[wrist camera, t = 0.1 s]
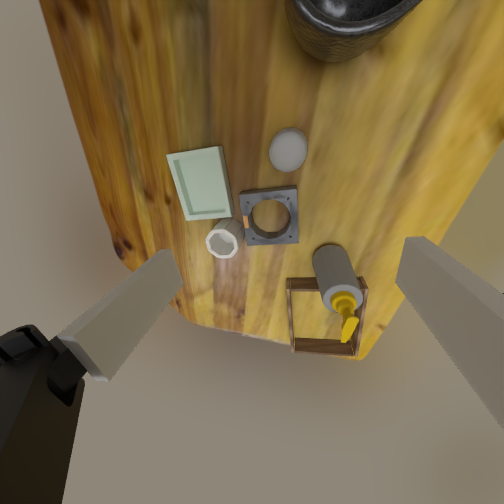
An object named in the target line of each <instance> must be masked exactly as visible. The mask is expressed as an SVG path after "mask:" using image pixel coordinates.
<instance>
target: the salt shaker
mask: <svg viewBox="0 0 504 504" xmlns="http://www.w3.org/2000/svg"><path fill="white" fill-rule="evenodd" d="M307 150H308V144H307V139H306V137H305V135H304V134H303V132H302V131H300V130H298V129H296V128H294V127H291V128H284V129H282V130H281V131H279V132H277V133H276V135H275V136H274V138H273V139H272V141H271V145H270V149H269V157H270V162H271V163H272V164H273V166H274V167H275V169H277V170H279V171H281V172H292V171H294V170H296V169H298V168H299V167H300V166H301V165H302V163H303V162H304V161H305V158H306V154H307Z"/></svg>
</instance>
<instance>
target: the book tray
mask: <svg viewBox="0 0 504 504" xmlns="http://www.w3.org/2000/svg"><path fill="white" fill-rule="evenodd" d="M356 278H357V281H358V284H359V286H360V289H361V292H362V295H363V302H362V304H361V305H360V306H359V308H357V309H356V310H355V314H354V317H357V318H359V322H358V323H357V325H356V328H355V330H354V331H353V334H352V337H351V343H350V341H349V340H348V341H347V342H346V343H342V342H341V340H329V339H310V338H295V352H297V353H311V354H325V355H339V356H354V355H355V357H358V351H359V345H360V339H361V333H362V327H363V321H364V315H365V309H366V303H367V296H368V290H369V289H368V287H367V285H366V283H365V281H364V279H363V277H359V278H358V277H356ZM291 291H320V290H319V286H318V282H317V278H316V277H311V278H291ZM291 291H290V278H287V301H288V314H289V327H290V340H291V352H294V336H293V321H292V306H291ZM351 345H352V347H351ZM352 348H353V350H352ZM353 352H354V354H353Z"/></svg>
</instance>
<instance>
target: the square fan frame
mask: <svg viewBox="0 0 504 504" xmlns="http://www.w3.org/2000/svg"><path fill="white" fill-rule="evenodd" d="M267 199H275V200H277V201H279V202H281V203H284V205H285V206H286V207H287V209H288V210H289V212H290V217H291V219H290V221H289V223H288V224H287V226H286V227H285V228H284V229H282V230H280V231H279V232H270V233H268V232H265V231H263V230H261V229H259V228H258V227H257V225H256V224H255V223H254V221H253V217H252V209H253V207H254V205H256V204H257V203H258V202H260V201H261V200H267ZM239 200H240V206H241V212H242V218H243V224H244V230H245V236H246V241H247V246H251V245H271V244H291V243H299V238H298V210H297V187H296V185H295V186H286V187H277V188H268V189H259V190H250V191H242V192H241V193H240V194H239Z"/></svg>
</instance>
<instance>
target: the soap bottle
mask: <svg viewBox="0 0 504 504" xmlns="http://www.w3.org/2000/svg"><path fill="white" fill-rule="evenodd" d="M312 263H313V267H314V271H315V275H316V278H317V282H318V286H319V290H320V293H321V297H322V301H323V303H324V305H325V307H326V308H327V309H329V310H330V311H333V312H336V313H339V314H340V315H343V323H342V335H341V342H342V343H346V342H347V341H348V340H349V338H350V337H351V335H352V334H353V331H354V330H355V328H356V325H357V323H358V322H359V318H357V317H354V316H353V315H352V314H353V312H354V310H356V309H357V308H359V306H360V305H361V304H362V302H363V295H362V292H361V289H360V286H359V284H358V281H357V278H356V276H355V273H354V270H353V267H352V265H351V262H350V259H349V257H348V254H347V252H346V251H345V250H344V249H343V248H342V247H340V246H337V245H326V246H323V247H321V248H320V249H318V250H317V251H316V252H315V254H314V256H313V261H312Z"/></svg>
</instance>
